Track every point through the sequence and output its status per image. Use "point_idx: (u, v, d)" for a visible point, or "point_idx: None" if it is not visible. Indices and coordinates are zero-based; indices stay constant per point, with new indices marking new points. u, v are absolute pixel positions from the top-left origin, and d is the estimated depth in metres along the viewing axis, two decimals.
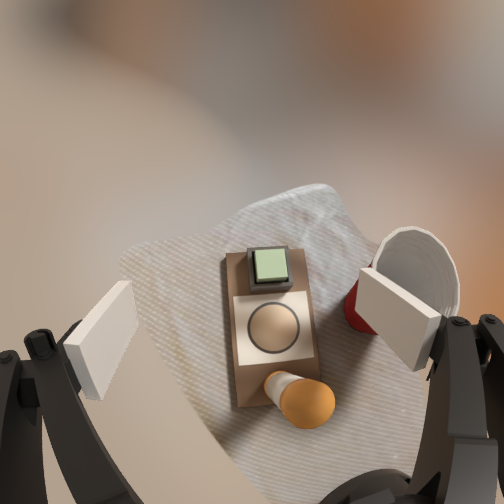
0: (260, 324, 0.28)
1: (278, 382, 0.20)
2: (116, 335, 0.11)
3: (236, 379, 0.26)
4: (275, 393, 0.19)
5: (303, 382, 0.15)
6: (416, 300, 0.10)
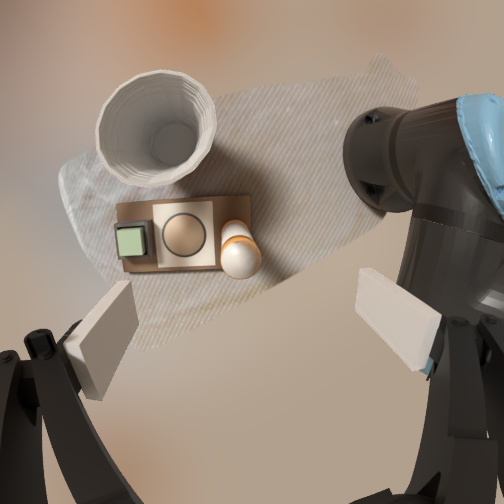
0: (180, 246, 0.33)
1: None
2: (116, 335, 0.11)
3: None
4: None
5: (221, 263, 0.22)
6: (416, 300, 0.10)
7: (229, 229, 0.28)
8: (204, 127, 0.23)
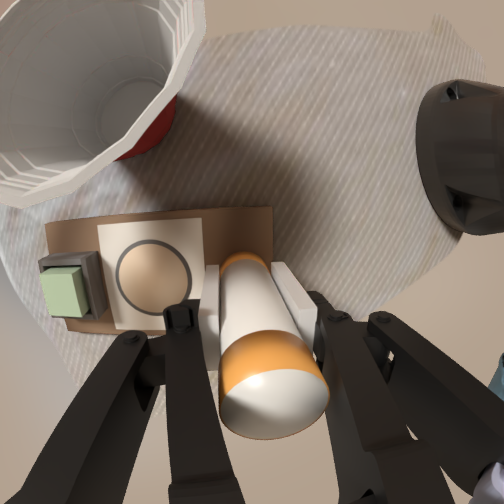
0: (148, 297, 0.18)
1: None
2: None
3: None
4: None
5: None
6: (301, 292, 0.12)
7: (236, 287, 0.13)
8: (176, 51, 0.08)
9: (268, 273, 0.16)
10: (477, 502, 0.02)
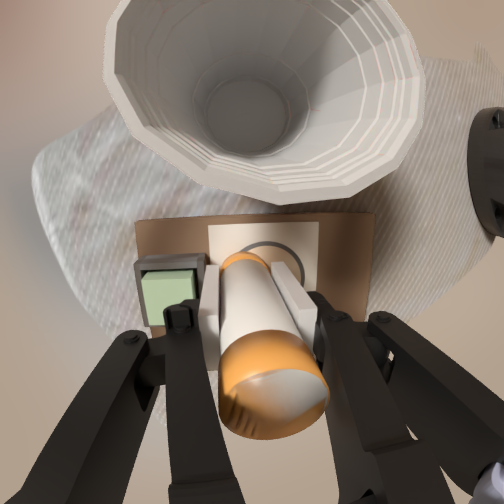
0: None
1: None
2: None
3: None
4: None
5: None
6: (301, 292, 0.12)
7: (236, 287, 0.13)
8: (373, 77, 0.09)
9: (268, 273, 0.16)
10: (478, 502, 0.02)
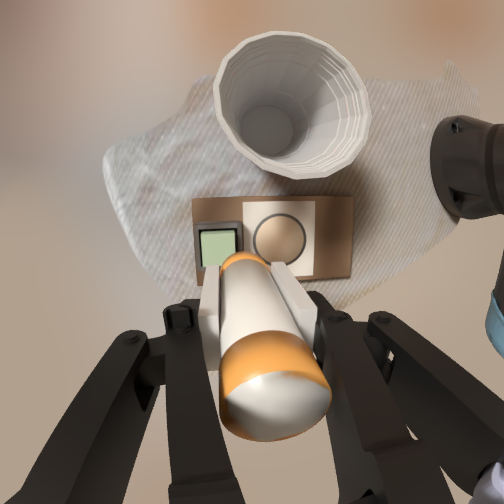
0: (275, 253, 0.28)
1: None
2: None
3: (324, 277, 0.30)
4: None
5: None
6: (301, 292, 0.12)
7: (236, 287, 0.12)
8: (344, 113, 0.18)
9: (269, 273, 0.15)
10: (478, 502, 0.02)
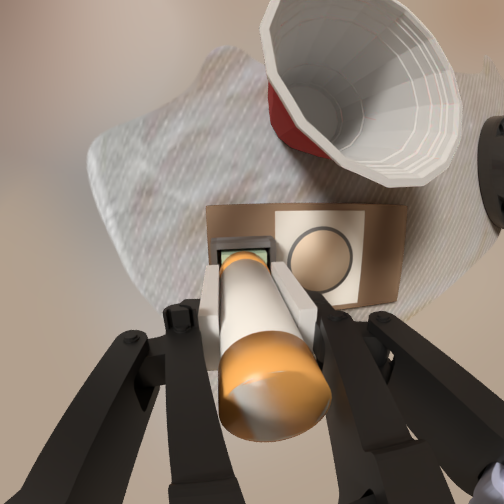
0: (314, 277, 0.21)
1: None
2: None
3: (370, 303, 0.23)
4: None
5: None
6: (301, 292, 0.12)
7: (236, 288, 0.12)
8: (423, 99, 0.11)
9: (268, 273, 0.15)
10: (478, 502, 0.02)
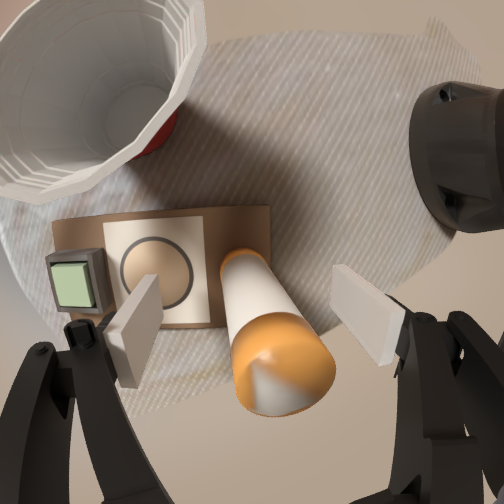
0: None
1: None
2: (148, 325, 0.12)
3: None
4: None
5: (237, 393, 0.08)
6: (382, 296, 0.11)
7: (240, 278, 0.13)
8: (180, 61, 0.09)
9: (268, 266, 0.17)
10: None
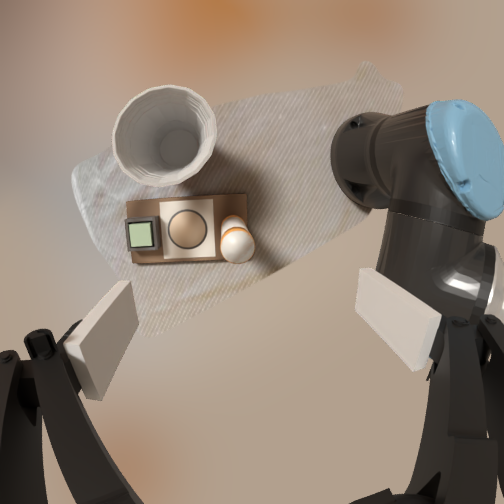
0: (184, 239, 0.37)
1: None
2: (116, 335, 0.11)
3: None
4: None
5: (221, 250, 0.26)
6: (416, 300, 0.10)
7: (228, 222, 0.32)
8: (206, 135, 0.27)
9: (243, 222, 0.35)
10: None
